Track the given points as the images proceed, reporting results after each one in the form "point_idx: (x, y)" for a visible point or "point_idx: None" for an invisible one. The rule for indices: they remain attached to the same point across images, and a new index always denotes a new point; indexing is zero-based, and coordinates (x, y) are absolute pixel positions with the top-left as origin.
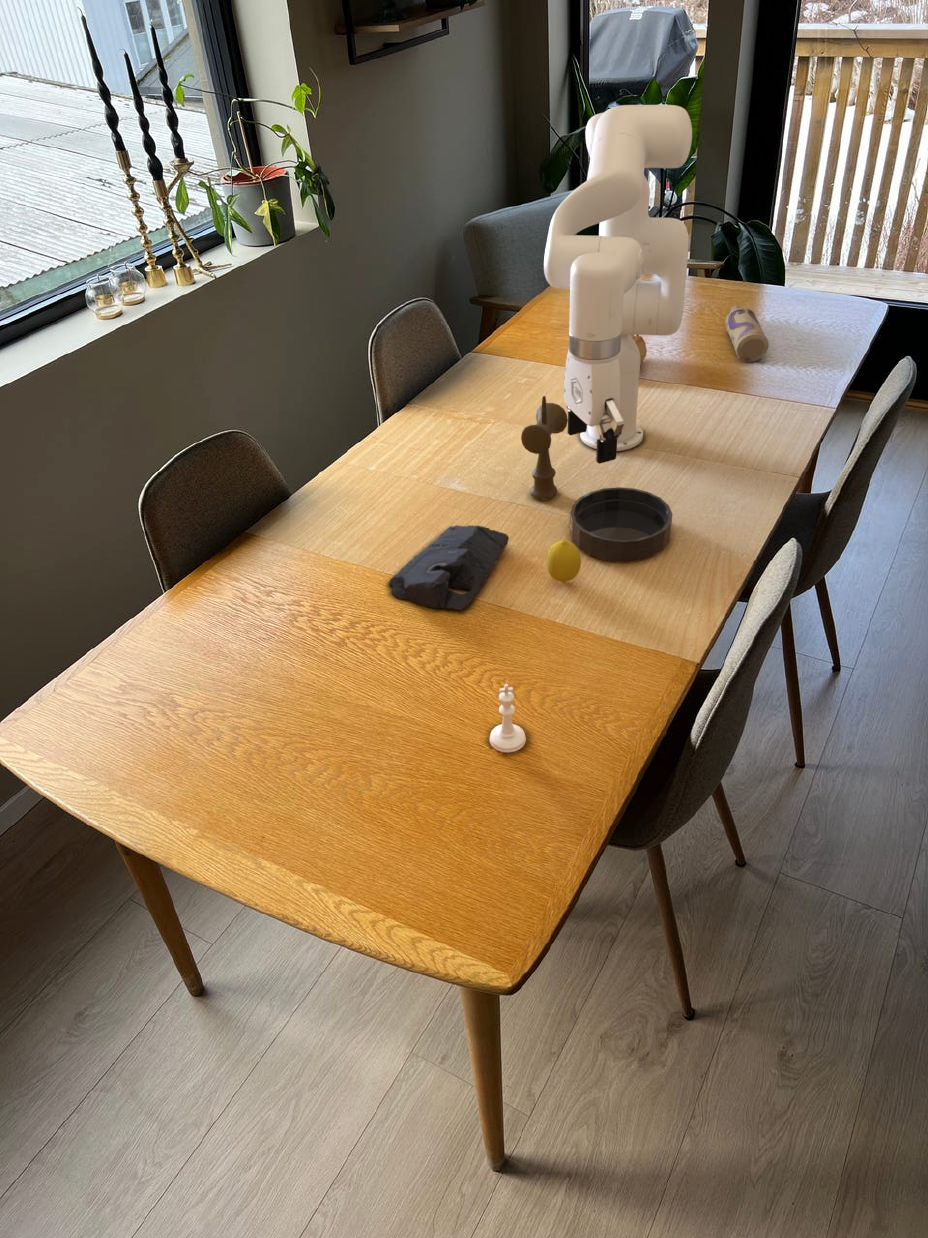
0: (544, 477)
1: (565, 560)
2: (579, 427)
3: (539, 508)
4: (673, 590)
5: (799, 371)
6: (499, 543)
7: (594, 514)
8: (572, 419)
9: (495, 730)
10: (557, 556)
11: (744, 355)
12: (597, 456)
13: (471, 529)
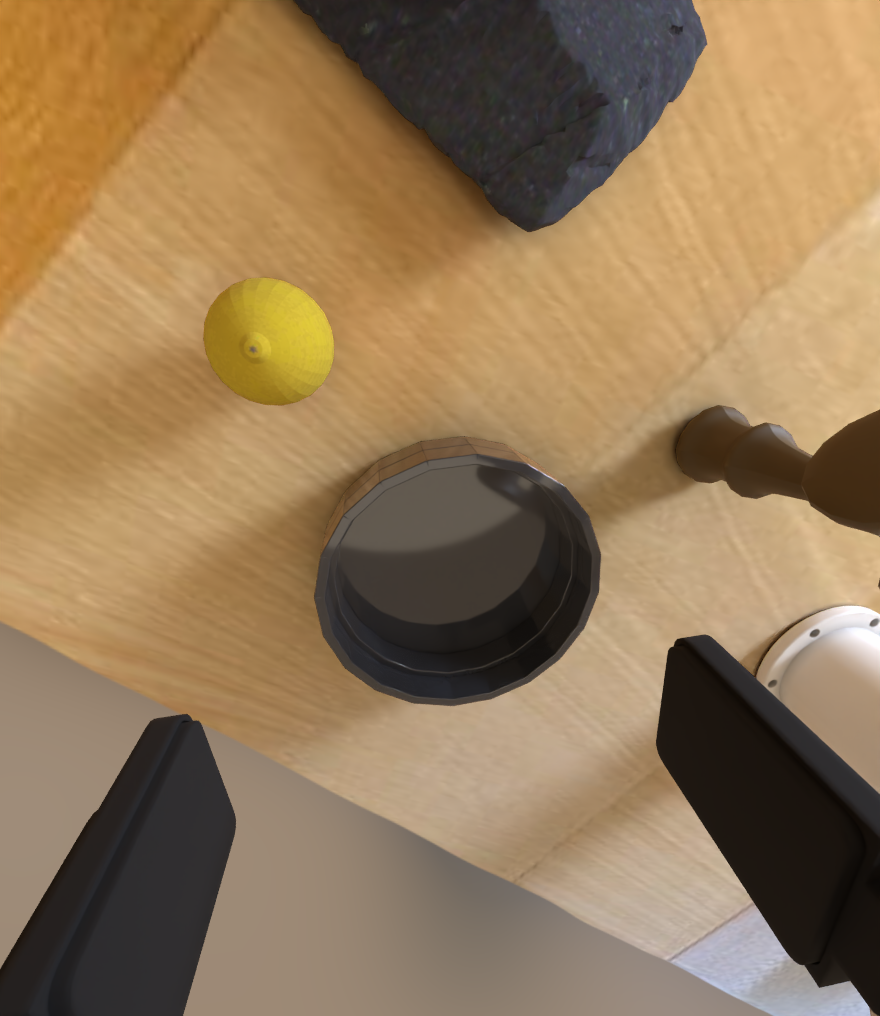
0: (735, 454)
1: (204, 330)
2: (690, 746)
3: (656, 408)
4: (183, 597)
5: (781, 954)
6: (498, 173)
7: (555, 532)
8: (780, 783)
9: None
10: (219, 303)
11: None
12: (126, 770)
13: (609, 71)
